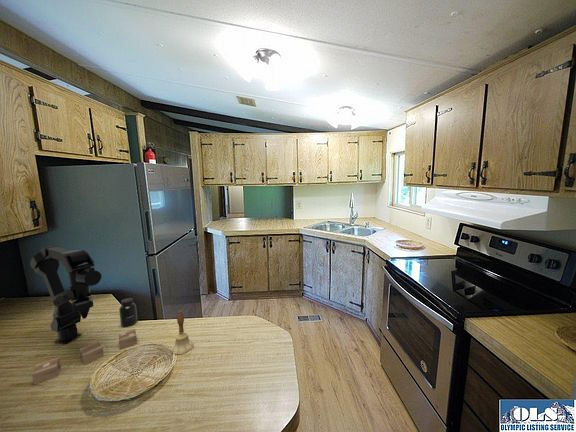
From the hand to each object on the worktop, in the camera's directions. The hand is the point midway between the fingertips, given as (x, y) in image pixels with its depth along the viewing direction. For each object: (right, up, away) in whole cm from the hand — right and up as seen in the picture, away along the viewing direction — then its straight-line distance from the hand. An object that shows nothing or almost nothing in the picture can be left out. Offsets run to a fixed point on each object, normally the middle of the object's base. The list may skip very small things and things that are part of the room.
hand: (84, 318), depth 100 cm
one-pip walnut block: (-2, -15, -13) cm, 20 cm away
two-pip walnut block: (+16, -12, +4) cm, 20 cm away
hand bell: (+41, -12, 0) cm, 42 cm away
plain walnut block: (+7, -14, -4) cm, 16 cm away
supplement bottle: (+6, -11, +19) cm, 23 cm away
